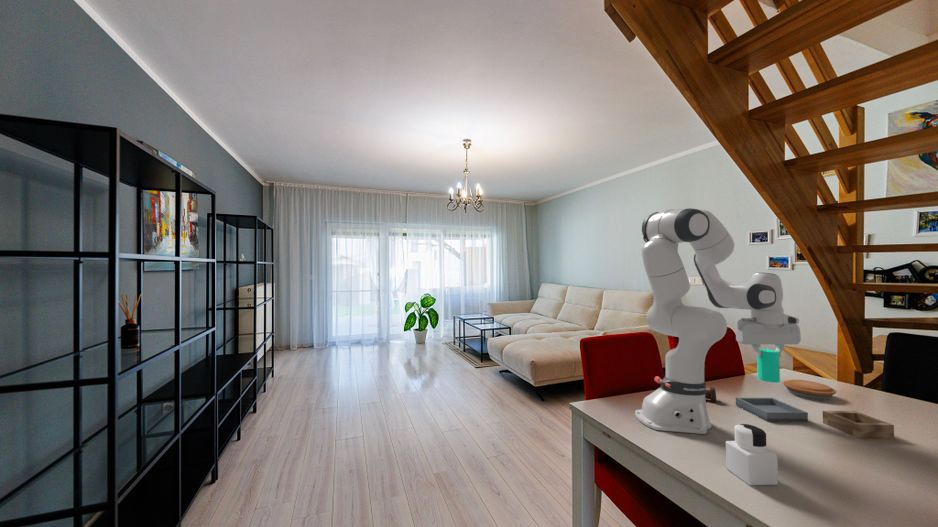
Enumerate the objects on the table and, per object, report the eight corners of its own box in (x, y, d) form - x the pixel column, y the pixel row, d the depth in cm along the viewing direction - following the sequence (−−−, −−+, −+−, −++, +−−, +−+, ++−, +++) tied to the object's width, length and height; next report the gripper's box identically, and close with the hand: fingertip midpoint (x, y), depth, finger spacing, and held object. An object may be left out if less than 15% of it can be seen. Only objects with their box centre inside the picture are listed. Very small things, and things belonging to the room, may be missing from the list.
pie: (842, 398, 135) (842, 385, 135) (828, 405, 127) (828, 392, 127) (791, 386, 148) (791, 375, 148) (776, 393, 141) (775, 380, 141)
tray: (766, 421, 114) (766, 412, 114) (735, 405, 127) (735, 397, 127) (808, 421, 113) (807, 412, 114) (772, 405, 127) (772, 397, 127)
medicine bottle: (752, 467, 87) (751, 420, 87) (779, 485, 80) (777, 433, 80) (725, 468, 87) (724, 421, 87) (749, 486, 79) (748, 434, 80)
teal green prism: (771, 383, 117) (770, 348, 117) (753, 378, 123) (752, 344, 123) (784, 381, 119) (783, 347, 119) (765, 376, 124) (764, 344, 125)
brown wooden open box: (858, 438, 102) (858, 424, 102) (822, 422, 112) (822, 410, 113) (894, 438, 102) (893, 425, 102) (855, 423, 112) (854, 410, 112)
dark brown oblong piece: (671, 398, 140) (716, 404, 132) (670, 395, 136) (716, 401, 129) (670, 384, 143) (714, 389, 135) (670, 381, 139) (715, 386, 131)
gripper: (744, 319, 118) (745, 358, 118) (804, 319, 118) (805, 358, 118) (731, 316, 125) (732, 354, 124) (787, 316, 124) (788, 354, 124)
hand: (768, 356), depth 121 cm, fingers closed on teal green prism, 5 cm apart
